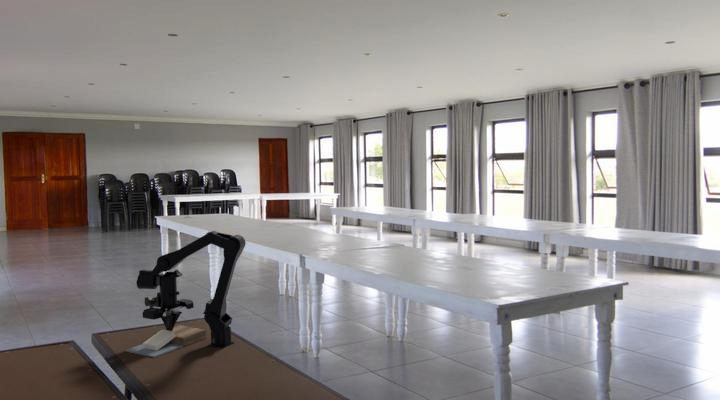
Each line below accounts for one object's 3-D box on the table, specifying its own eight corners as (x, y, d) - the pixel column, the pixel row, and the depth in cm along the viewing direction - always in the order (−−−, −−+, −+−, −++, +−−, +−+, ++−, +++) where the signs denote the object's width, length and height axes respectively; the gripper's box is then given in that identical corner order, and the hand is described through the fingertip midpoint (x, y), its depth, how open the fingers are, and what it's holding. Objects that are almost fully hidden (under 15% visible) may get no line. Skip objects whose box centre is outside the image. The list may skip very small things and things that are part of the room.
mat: (183, 346, 200) (183, 345, 200) (154, 357, 189) (154, 356, 189) (154, 341, 207) (154, 339, 207) (125, 351, 195) (125, 350, 195)
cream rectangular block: (175, 336, 202) (174, 331, 201) (156, 350, 194) (155, 345, 194) (163, 334, 205) (162, 329, 204) (144, 348, 197) (142, 343, 197)
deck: (206, 337, 210) (205, 329, 210) (183, 346, 200) (183, 338, 200) (178, 332, 216) (177, 325, 216) (155, 340, 207) (155, 332, 207)
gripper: (172, 282, 215) (173, 323, 216) (130, 292, 198) (132, 336, 199) (194, 285, 209) (195, 327, 210) (153, 295, 193) (154, 341, 194)
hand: (169, 332), depth 204 cm, fingers closed
